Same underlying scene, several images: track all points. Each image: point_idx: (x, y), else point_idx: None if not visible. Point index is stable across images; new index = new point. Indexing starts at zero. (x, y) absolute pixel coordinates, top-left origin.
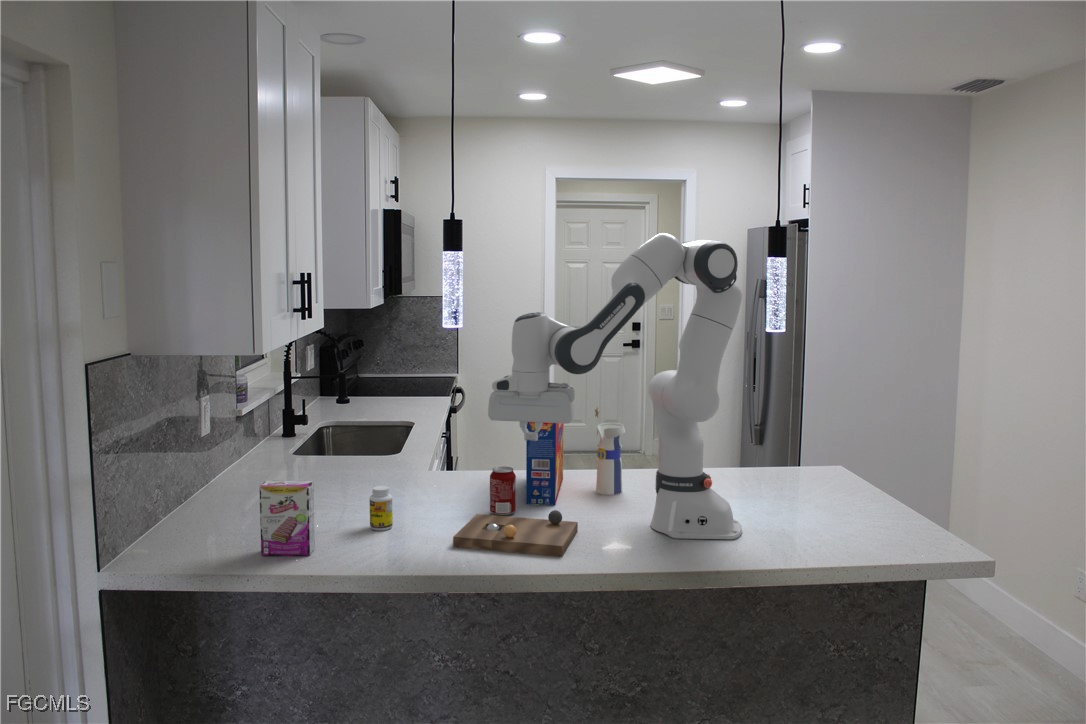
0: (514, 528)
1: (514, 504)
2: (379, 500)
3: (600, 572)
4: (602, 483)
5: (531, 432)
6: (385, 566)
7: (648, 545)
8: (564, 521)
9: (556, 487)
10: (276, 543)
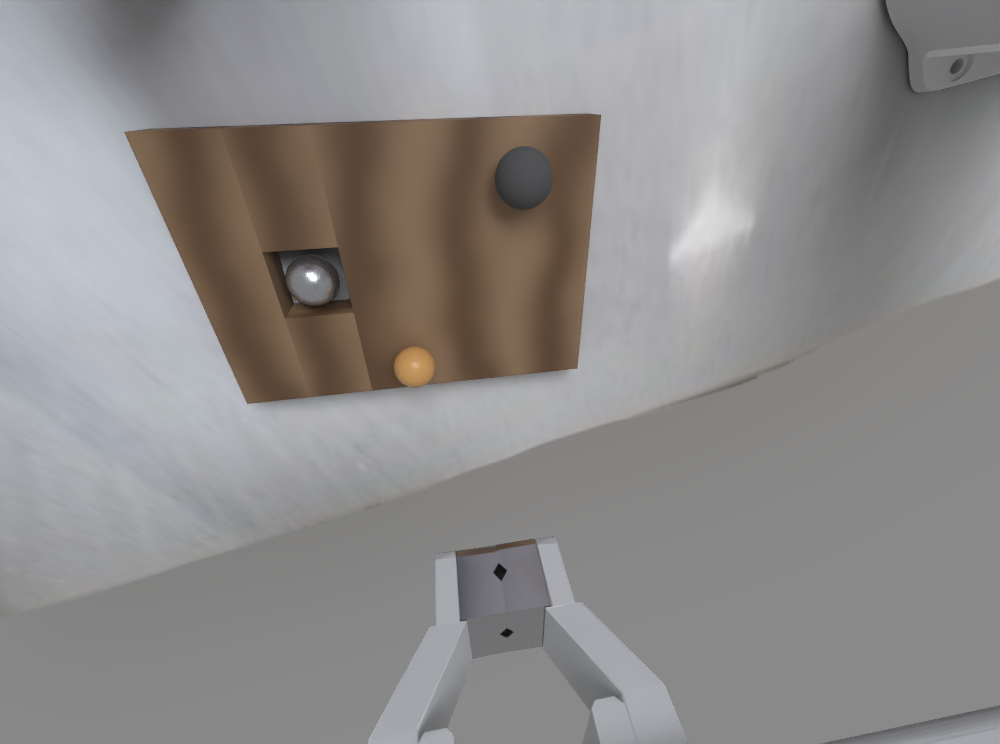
0: (431, 376)
1: None
2: None
3: (659, 405)
4: None
5: (506, 624)
6: (202, 523)
7: (807, 190)
8: (548, 125)
9: None
10: None
